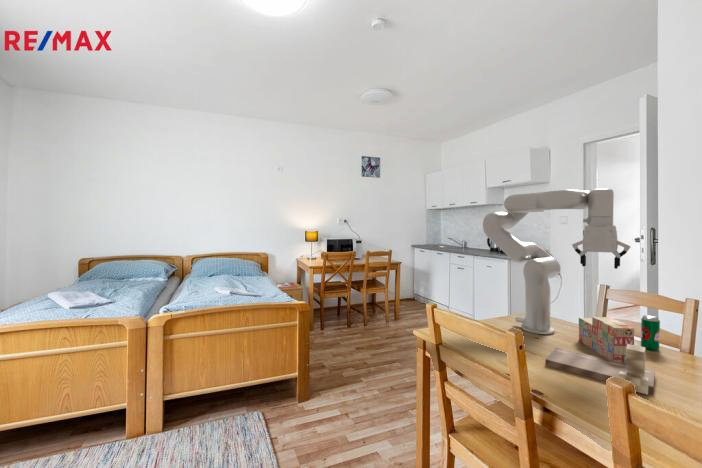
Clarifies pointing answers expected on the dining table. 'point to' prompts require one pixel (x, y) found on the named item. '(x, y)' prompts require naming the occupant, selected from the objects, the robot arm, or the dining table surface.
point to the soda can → (650, 332)
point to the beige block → (635, 368)
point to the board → (592, 366)
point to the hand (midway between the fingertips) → (599, 267)
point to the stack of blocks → (606, 336)
